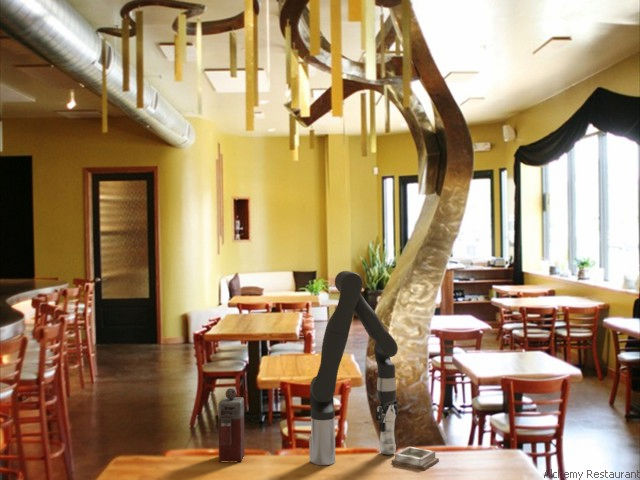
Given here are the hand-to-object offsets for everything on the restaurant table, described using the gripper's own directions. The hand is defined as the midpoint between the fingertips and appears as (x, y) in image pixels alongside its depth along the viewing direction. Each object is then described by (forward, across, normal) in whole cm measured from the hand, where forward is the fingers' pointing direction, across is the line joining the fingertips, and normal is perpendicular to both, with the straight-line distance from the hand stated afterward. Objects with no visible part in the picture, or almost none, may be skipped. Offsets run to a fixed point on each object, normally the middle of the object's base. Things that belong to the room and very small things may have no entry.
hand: (387, 429), depth 255 cm
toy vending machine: (+10, +40, -48) cm, 63 cm away
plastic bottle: (+10, 0, 0) cm, 10 cm away
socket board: (+10, +3, +14) cm, 17 cm away
